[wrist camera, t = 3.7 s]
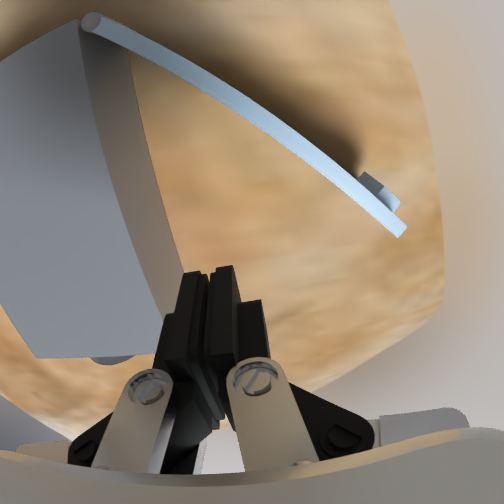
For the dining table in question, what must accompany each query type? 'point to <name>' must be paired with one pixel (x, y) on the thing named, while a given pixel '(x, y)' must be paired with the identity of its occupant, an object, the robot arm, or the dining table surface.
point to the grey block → (80, 203)
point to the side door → (254, 118)
